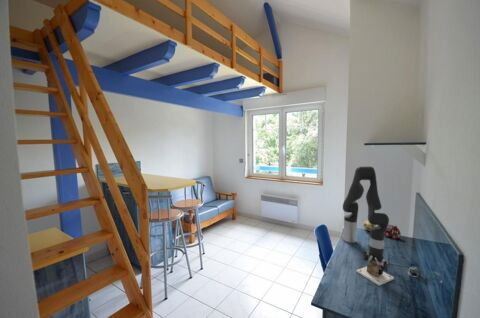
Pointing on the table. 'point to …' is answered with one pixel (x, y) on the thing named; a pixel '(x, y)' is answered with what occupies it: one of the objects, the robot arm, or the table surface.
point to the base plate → (376, 280)
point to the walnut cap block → (373, 268)
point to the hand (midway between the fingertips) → (374, 271)
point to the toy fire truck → (392, 229)
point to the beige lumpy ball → (368, 225)
